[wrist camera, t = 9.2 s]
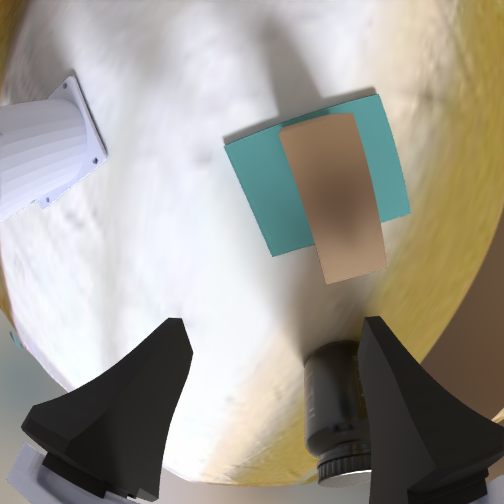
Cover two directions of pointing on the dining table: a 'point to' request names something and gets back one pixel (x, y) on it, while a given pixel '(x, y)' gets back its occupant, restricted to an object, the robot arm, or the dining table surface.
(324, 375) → the supplement bottle
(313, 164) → the brown block
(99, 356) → the dining table surface
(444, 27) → the dining table surface
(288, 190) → the teal mat
